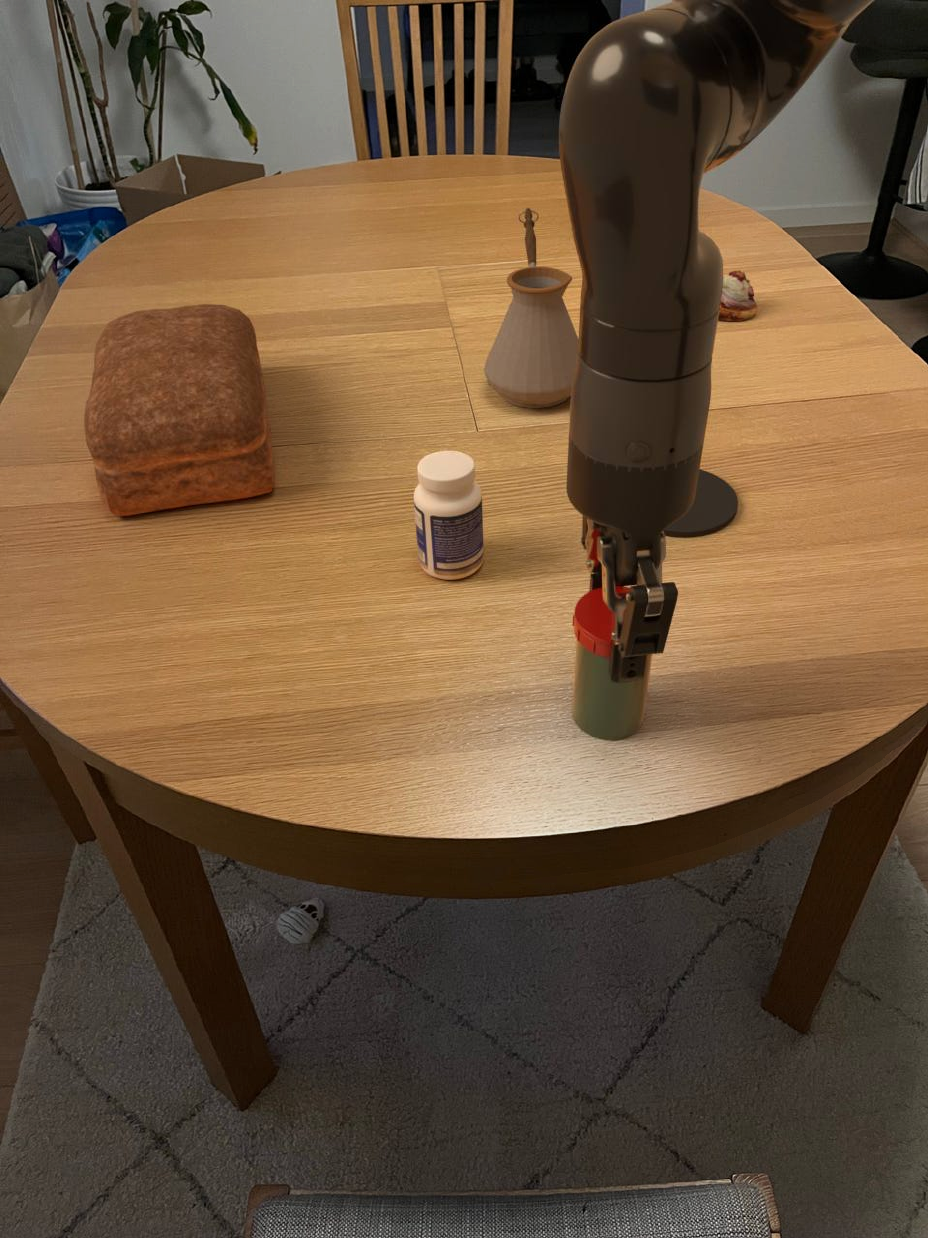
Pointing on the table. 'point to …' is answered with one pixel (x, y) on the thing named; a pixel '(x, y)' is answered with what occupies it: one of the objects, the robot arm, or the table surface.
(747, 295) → the pastry
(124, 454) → the bread
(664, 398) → the robot arm
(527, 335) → the coffee pot
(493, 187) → the table surface
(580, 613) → the lid
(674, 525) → the coaster
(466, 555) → the pill bottle
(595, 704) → the jar
